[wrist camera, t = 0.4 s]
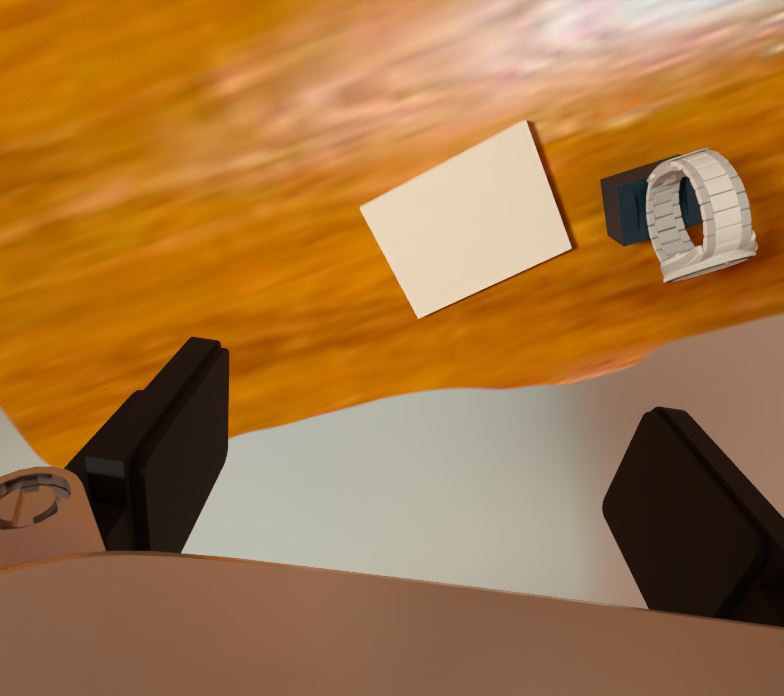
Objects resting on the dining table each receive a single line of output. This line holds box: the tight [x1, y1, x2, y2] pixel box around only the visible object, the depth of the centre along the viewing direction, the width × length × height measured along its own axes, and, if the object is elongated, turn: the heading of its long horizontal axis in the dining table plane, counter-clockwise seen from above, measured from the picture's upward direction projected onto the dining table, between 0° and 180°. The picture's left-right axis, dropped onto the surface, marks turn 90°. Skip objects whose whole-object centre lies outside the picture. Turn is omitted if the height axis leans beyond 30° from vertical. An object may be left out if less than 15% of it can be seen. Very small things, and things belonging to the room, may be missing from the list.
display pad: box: [360, 120, 572, 319], centre depth 38 cm, size 13×10×1 cm
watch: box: [600, 148, 758, 283], centre depth 32 cm, size 6×8×11 cm
